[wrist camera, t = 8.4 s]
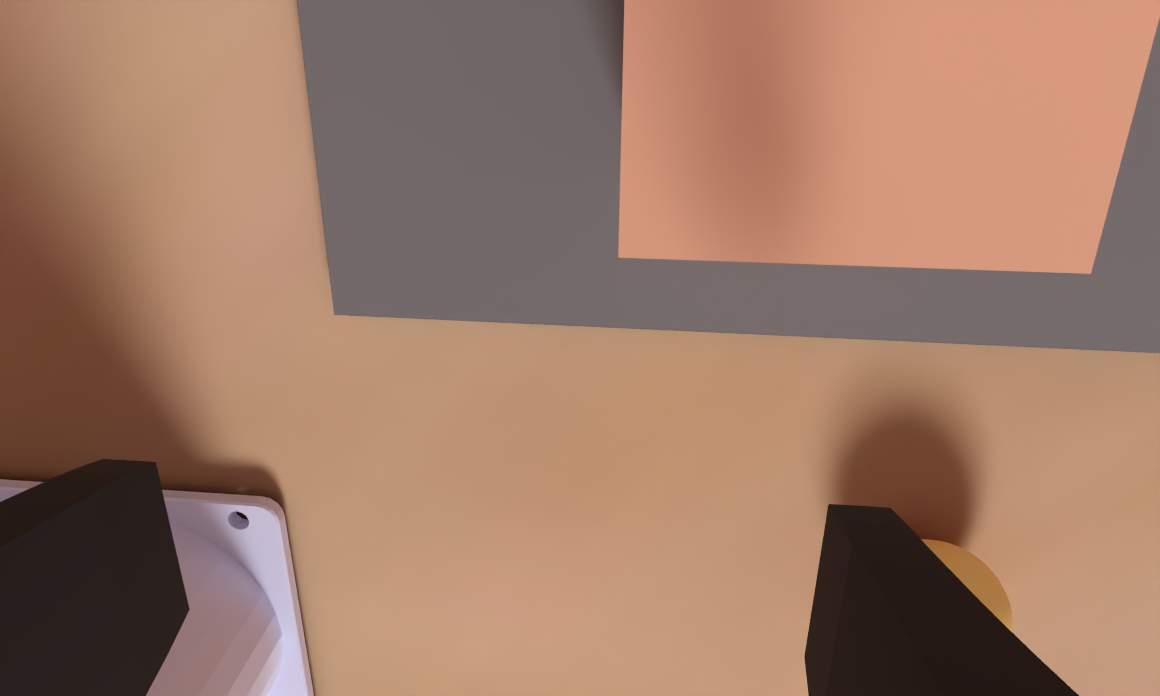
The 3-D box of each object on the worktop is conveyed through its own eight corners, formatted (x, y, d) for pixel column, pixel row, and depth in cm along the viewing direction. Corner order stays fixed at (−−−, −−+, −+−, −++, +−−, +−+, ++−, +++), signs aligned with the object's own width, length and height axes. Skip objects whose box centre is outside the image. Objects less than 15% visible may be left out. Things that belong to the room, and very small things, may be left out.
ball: (832, 615, 21) (859, 721, 18) (851, 505, 19) (883, 601, 17) (968, 624, 21) (1017, 734, 18) (996, 514, 19) (1055, 614, 16)
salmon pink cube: (635, 155, 16) (618, 257, 11) (646, -196, 14) (631, -295, 8) (943, 163, 16) (1091, 273, 10) (1009, -199, 13) (1246, -307, 8)
